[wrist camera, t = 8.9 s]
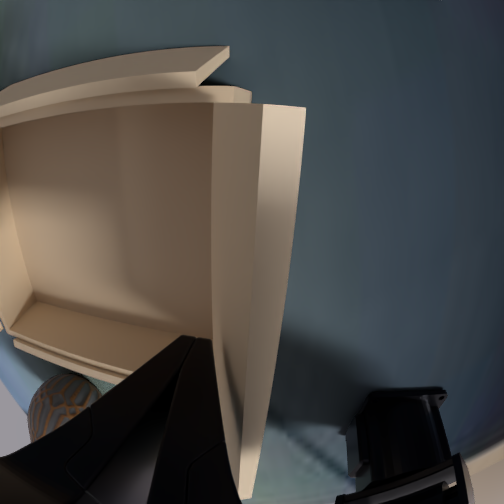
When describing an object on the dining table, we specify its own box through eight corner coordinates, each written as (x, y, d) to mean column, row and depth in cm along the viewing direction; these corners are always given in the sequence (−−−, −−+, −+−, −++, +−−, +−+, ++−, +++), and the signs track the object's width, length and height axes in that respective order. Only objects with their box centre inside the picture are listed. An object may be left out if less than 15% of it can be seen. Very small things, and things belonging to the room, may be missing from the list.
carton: (254, 47, 10) (234, 18, 6) (238, 364, 18) (225, 424, 14) (3, 88, 12) (-53, 98, 8) (46, 321, 20) (14, 359, 16)
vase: (42, 364, 23) (-4, 430, 15) (82, 358, 21) (29, 442, 13) (87, 411, 25) (52, 477, 18) (132, 412, 23) (97, 492, 16)
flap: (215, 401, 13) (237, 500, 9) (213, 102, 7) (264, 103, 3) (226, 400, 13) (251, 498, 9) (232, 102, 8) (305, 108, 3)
